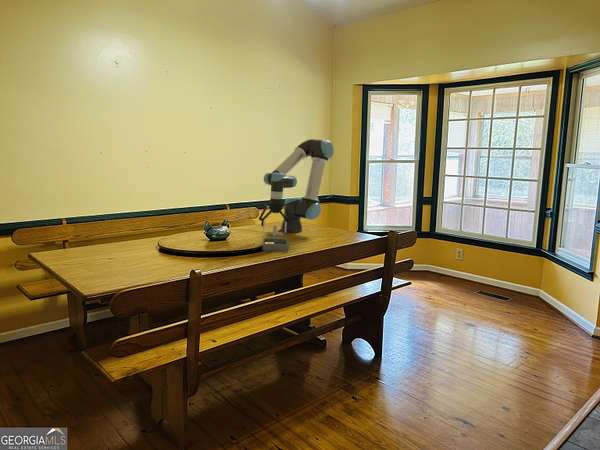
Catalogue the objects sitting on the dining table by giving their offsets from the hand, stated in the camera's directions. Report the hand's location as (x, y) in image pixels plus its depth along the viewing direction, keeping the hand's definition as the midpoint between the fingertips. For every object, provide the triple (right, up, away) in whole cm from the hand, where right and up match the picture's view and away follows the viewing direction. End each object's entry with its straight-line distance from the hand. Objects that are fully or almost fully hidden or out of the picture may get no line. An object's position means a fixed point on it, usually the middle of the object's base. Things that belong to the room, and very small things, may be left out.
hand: (274, 231), depth 277 cm
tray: (+1, -9, -14) cm, 17 cm away
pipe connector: (0, -6, +2) cm, 6 cm away
